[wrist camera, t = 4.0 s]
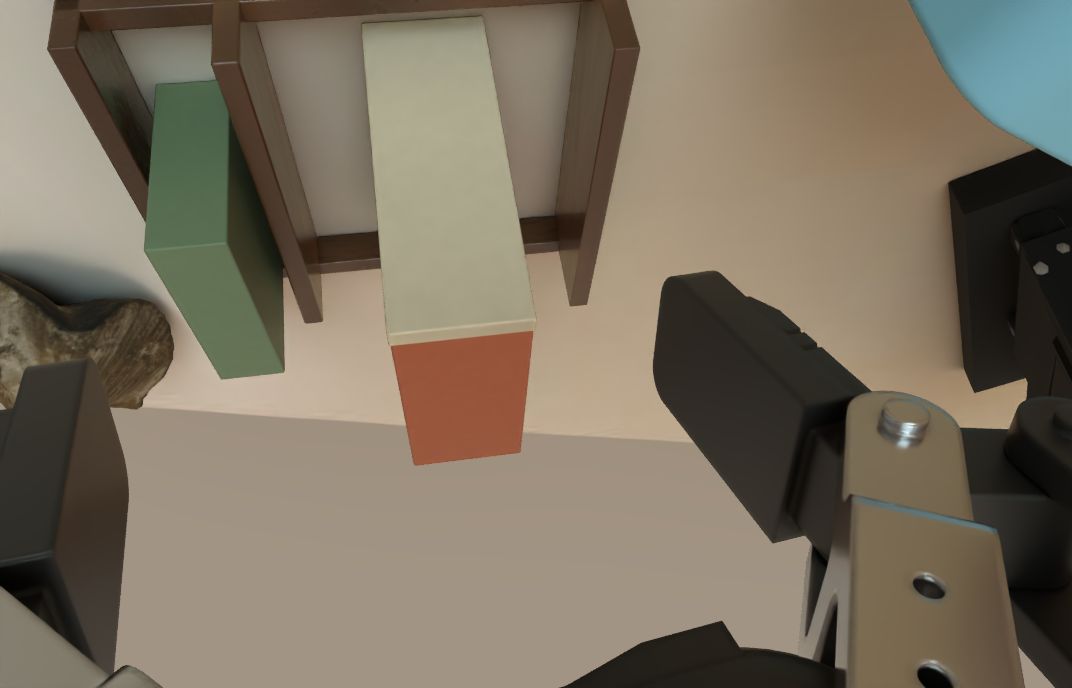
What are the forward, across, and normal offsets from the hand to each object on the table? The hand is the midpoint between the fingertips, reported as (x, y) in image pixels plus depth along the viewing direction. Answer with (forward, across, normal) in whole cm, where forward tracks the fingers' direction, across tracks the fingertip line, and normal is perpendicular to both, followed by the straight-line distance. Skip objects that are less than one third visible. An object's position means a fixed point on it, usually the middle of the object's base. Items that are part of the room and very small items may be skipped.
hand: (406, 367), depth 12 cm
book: (+22, -5, +4) cm, 23 cm away
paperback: (+24, +2, +6) cm, 25 cm away
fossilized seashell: (+30, +11, +13) cm, 35 cm away
